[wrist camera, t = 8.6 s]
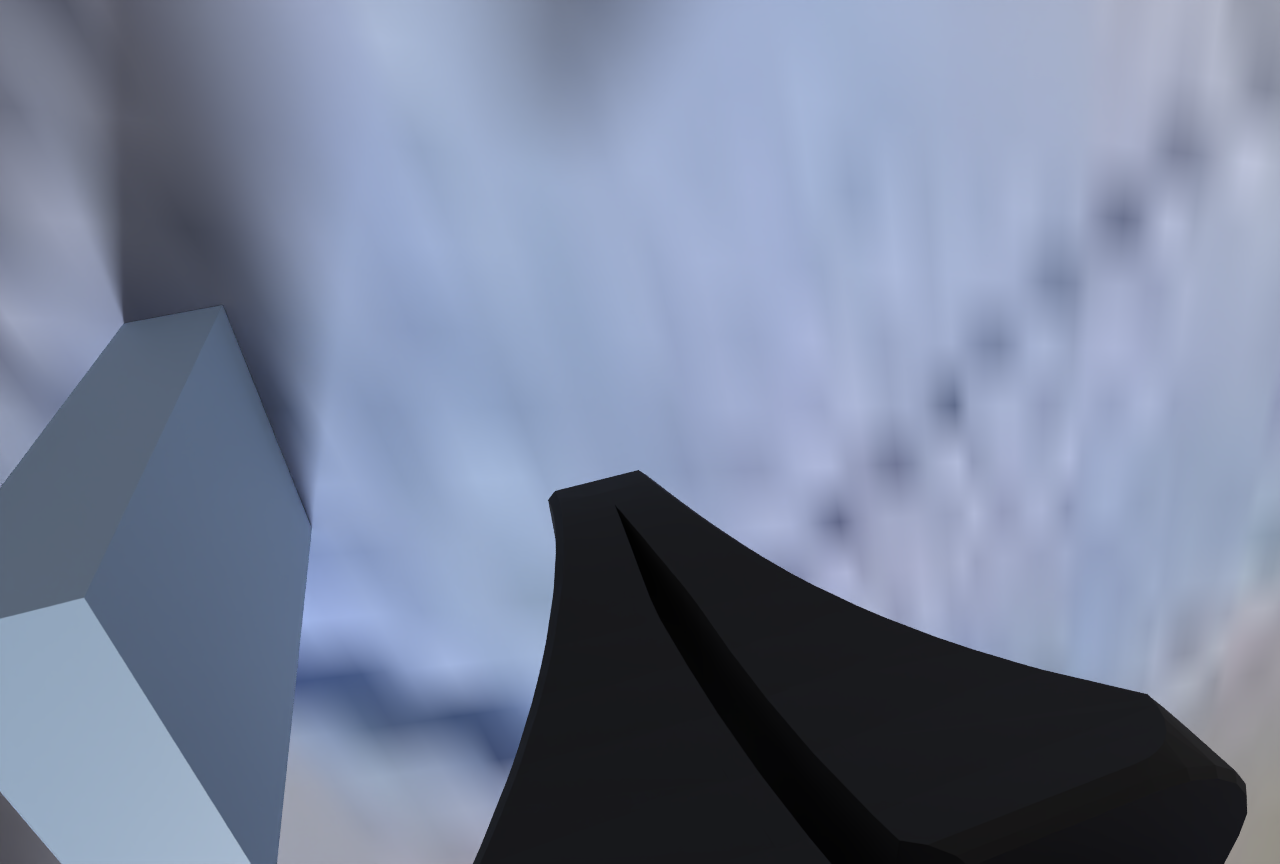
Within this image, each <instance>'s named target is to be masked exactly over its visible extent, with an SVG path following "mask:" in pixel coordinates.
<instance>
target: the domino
mask: <svg viewBox="0 0 1280 864" xmlns="http://www.w3.org/2000/svg"><path fill="white" fill-rule="evenodd" d="M311 531H312V528H311V525H310V523H309V520H308V518H307V515H306V513H305V510H304V508H303V505H302V503H301V500H300V498H299V495H298V493H297V490H296V488H295V485H294V483H293V480H292V478H291V475H290V473H289V470H288V468H287V465H286V463H285V460H284V458H283V455H282V453H281V450H280V448H279V445H278V443H277V440H276V438H275V435H274V433H273V430H272V428H271V425H270V423H269V420H268V418H267V415H266V413H265V410H264V408H263V405H262V403H261V400H260V398H259V395H258V393H257V390H256V388H255V385H254V383H253V380H252V378H251V375H250V372H249V370H248V367H247V365H246V362H245V360H244V357H243V355H242V352H241V350H240V347H239V345H238V342H237V340H236V337H235V335H234V332H233V330H232V327H231V325H230V322H229V320H228V317H227V315H226V312H225V310H224V307H223V305H220V306H214V307H209V308H204V309H198V310H193V311H188V312H182V313H177V314H171V315H166V316H161V317H155V318H150V319H145V320H139V321H134V322H129V323H124V324H123V325H122V327H121V328H120V329H119V331H118V332H117V333H116V335H115V336H114V337H113V339H112V340H111V341H110V343H109V344H108V345H107V347H106V348H105V349H104V351H103V352H102V353H101V355H100V356H99V357H98V359H97V360H96V361H95V363H94V364H93V365H92V367H91V368H90V369H89V371H88V372H87V373H86V375H85V376H84V377H83V378H82V380H81V381H80V382H79V384H78V385H77V386H76V388H75V389H74V390H73V392H72V393H71V394H70V396H69V397H68V398H67V400H66V401H65V402H64V404H63V405H62V406H61V408H60V409H59V410H58V412H57V413H56V414H55V416H54V417H53V418H52V420H51V421H50V422H49V424H48V425H47V426H46V428H45V429H44V430H43V432H42V433H41V434H40V436H39V437H38V438H37V440H36V441H35V442H34V444H33V445H32V446H31V448H30V449H29V450H28V452H27V453H26V454H25V456H24V457H23V458H22V460H21V461H20V462H19V464H18V465H17V466H16V468H15V469H14V470H13V472H12V473H11V474H10V476H9V477H8V478H7V480H6V481H5V482H4V484H3V485H2V486H1V488H0V792H1V793H2V794H3V796H4V797H5V798H6V799H7V800H8V801H9V803H10V804H11V805H12V806H13V807H14V809H15V810H16V811H17V812H18V813H19V814H20V816H21V817H22V818H23V819H24V820H25V821H26V823H27V824H28V825H29V826H30V827H31V829H32V830H33V831H34V832H35V833H36V834H37V836H38V837H39V838H40V839H41V840H42V841H43V843H44V844H45V845H46V846H47V847H48V849H49V850H50V851H51V852H52V853H53V854H54V856H55V857H56V858H57V859H58V860H59V861H60V863H61V864H277V857H278V847H279V838H280V828H281V818H282V809H283V799H284V790H285V780H286V771H287V761H288V751H289V742H290V732H291V723H292V713H293V704H294V694H295V684H296V675H297V665H298V656H299V646H300V636H301V627H302V617H303V608H304V598H305V589H306V579H307V569H308V560H309V550H310V541H311Z"/></svg>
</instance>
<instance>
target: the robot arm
mask: <svg viewBox="0 0 1280 864" xmlns="http://www.w3.org/2000/svg"><path fill="white" fill-rule="evenodd" d="M548 501H549V507H550V512H551V517H552V523H553V528H554V533H555V539H556V561H555V578H554V591H553V600H552V607H551V613H550V620H549V627H548V633H547V640H546V645H545V650H544V655H543V660H542V664H541V669H540V673H539V677H538V681H537V685H536V689H535V693H534V697H533V701H532V705H531V708H530V711H529V715H528V718H527V721H526V724H525V728H524V731H523V734H522V738H521V741H520V744H519V747H518V750H517V753H516V756H515V759H514V762H513V765H512V768H511V771H510V774H509V776H508V779H507V782H506V784H505V787H504V789H503V792H502V794H501V797H500V799H499V802H498V804H497V807H496V809H495V812H494V814H493V817H492V819H491V822H490V824H489V827H488V829H487V832H486V834H485V837H484V839H483V842H482V844H481V847H480V849H479V851H478V853H477V856H476V858H475V860H474V863H473V864H1224V863H1225V861H1226V859H1227V857H1228V855H1229V853H1230V851H1231V849H1232V847H1233V846H1234V844H1235V842H1236V840H1237V838H1238V836H1239V834H1240V831H1241V828H1242V826H1243V823H1244V820H1245V818H1246V815H1247V795H1246V784H1245V783H1244V781H1243V780H1242V779H1241V777H1240V776H1239V775H1238V774H1237V772H1236V771H1235V770H1234V769H1233V768H1232V767H1230V766H1229V765H1228V764H1227V763H1226V762H1225V761H1224V760H1223V759H1221V758H1220V757H1219V756H1218V755H1217V754H1216V753H1215V752H1214V751H1212V750H1211V749H1210V748H1209V747H1208V746H1207V745H1206V744H1205V743H1203V742H1202V741H1201V740H1200V739H1199V738H1198V737H1197V736H1196V735H1195V734H1193V733H1192V732H1191V731H1190V730H1189V729H1188V728H1187V727H1185V726H1184V725H1183V724H1182V723H1181V722H1180V721H1179V720H1177V719H1176V718H1175V717H1174V716H1173V715H1172V714H1170V713H1169V712H1168V711H1167V710H1166V709H1165V708H1164V707H1162V706H1161V705H1160V704H1158V703H1157V702H1156V701H1155V700H1153V699H1152V698H1151V697H1150V696H1149V695H1148V694H1144V693H1140V692H1135V691H1131V690H1127V689H1122V688H1118V687H1114V686H1110V685H1105V684H1101V683H1097V682H1092V681H1088V680H1084V679H1080V678H1075V677H1071V676H1067V675H1063V674H1058V673H1054V672H1050V671H1045V670H1041V669H1038V668H1034V667H1030V666H1027V665H1023V664H1020V663H1017V662H1013V661H1010V660H1007V659H1003V658H1000V657H997V656H993V655H990V654H986V653H983V652H980V651H976V650H973V649H970V648H967V647H964V646H961V645H958V644H955V643H952V642H949V641H946V640H943V639H940V638H937V637H934V636H932V635H929V634H926V633H924V632H921V631H919V630H916V629H913V628H911V627H908V626H906V625H903V624H900V623H898V622H895V621H892V620H890V619H887V618H885V617H882V616H880V615H877V614H875V613H873V612H870V611H868V610H866V609H863V608H861V607H859V606H856V605H854V604H852V603H850V602H848V601H846V600H844V599H842V598H840V597H837V596H835V595H833V594H831V593H829V592H827V591H825V590H823V589H821V588H818V587H816V586H814V585H812V584H810V583H808V582H806V581H805V580H803V579H801V578H799V577H797V576H795V575H793V574H791V573H789V572H788V571H786V570H784V569H783V568H781V567H779V566H777V565H776V564H774V563H772V562H770V561H769V560H767V559H765V558H764V557H762V556H760V555H759V554H757V553H756V552H754V551H752V550H751V549H749V548H748V547H746V546H744V545H743V544H741V543H740V542H738V541H737V540H735V539H734V538H732V537H731V536H729V535H728V534H726V533H725V532H723V531H722V530H720V529H719V528H717V527H716V526H714V525H713V524H711V523H710V522H709V521H707V520H706V519H704V518H703V517H701V516H700V515H699V514H697V513H696V512H695V511H693V510H692V509H690V508H689V507H688V506H686V505H685V504H684V503H682V502H681V501H680V500H678V499H677V498H676V497H674V496H673V495H672V494H670V493H669V492H668V491H666V490H665V489H664V488H662V487H661V486H660V485H658V484H657V483H656V482H655V481H653V480H652V479H651V478H649V477H648V476H647V475H645V474H644V473H642V472H641V471H639V470H637V471H633V472H629V473H625V474H621V475H617V476H613V477H609V478H605V479H601V480H597V481H593V482H589V483H585V484H581V485H577V486H573V487H569V488H565V489H561V490H557V491H555V492H554V493H553V494H552V496H551V497H550V498H549V500H548Z"/></svg>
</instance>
